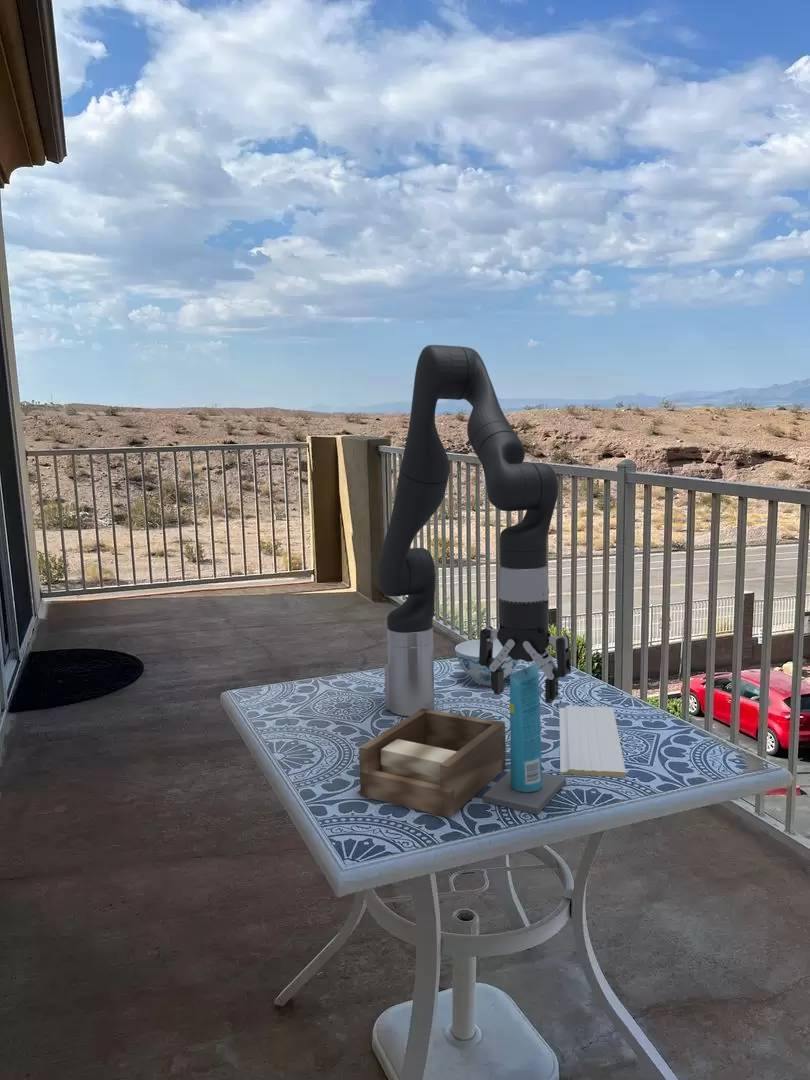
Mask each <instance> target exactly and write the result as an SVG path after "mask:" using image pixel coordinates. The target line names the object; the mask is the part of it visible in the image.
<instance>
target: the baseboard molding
mask: <svg viewBox="0 0 810 1080" xmlns="http://www.w3.org/2000/svg"><path fill="white" fill-rule="evenodd" d="M559 703H560V704H562V700H560V701H559ZM573 703H575V704H578V703H582V704H583V703H591V700H590V699H584V700H583V699H579V702H574V701H573ZM597 704H601V705H603V704H604V705H606V704H607V703H606V702H604V703H600V702H597ZM613 705H614V703H613V702H611V706H613ZM553 707H556V708H558V712H559V713H558V715H559V720H558V721H559V775H567V774H573V776H589V775H591V776H589V777H609V776H610V778H611V777H612V778H626V775H627V770H626V765H625V761H624V756H623V750H622V746H621V741H620V736H619V730H618V726H617V720H616V716H615V711H614V707H608V706H607V707H606V706H586V705H585V706H580V705H576V706H575V705H574V706H573V705H566V706H565V707H560V708H559V704H558V703H557V704H556V705H555V704H553Z"/></svg>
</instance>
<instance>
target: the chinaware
mask: <svg viewBox="0 0 810 1080" xmlns="http://www.w3.org/2000/svg"><path fill="white" fill-rule="evenodd" d="M502 648H503V646H502V645H501V643H500V642H499V640H498V638H496V640H495V641H494V642H493V658H494V659H495V658H496V656H497V655H498V653H499V652H500V651H501V650H502ZM454 649H455V655H456V658H457V661H458V663H459V665H460V667H461V668H462V669H463V671H465V673H466V674H467V675H468V676H470V677H471V678H473V681H474V683H476V684H477V683H478V685H481V684H482V686H491V671H490V669H489V668H488V667H486V666H481V665H480V664H479V649H480V638H479V639H472V640H467V641H463V642H461V643H459V644H456V646H455V648H454ZM519 662H520V660H512V658H511V657H510V658H509V659H508V660H507V661H506V662H505V663H504V665H503V666H502V669H504V679H505V678H507V677H508V676H510V675H511V674H513V673H514V671H515V669H516V668H517V666H518V665H519Z"/></svg>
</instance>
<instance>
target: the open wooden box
mask: <svg viewBox="0 0 810 1080" xmlns="http://www.w3.org/2000/svg"><path fill="white" fill-rule="evenodd" d="M396 739H400V740H405V741H409V742H414V743H419V744H424V745H428V746H433V747H438V748H443V749H448V750H452V751H457V752H456V753H455V754H453V755H452V756H451V757H449V758H448V759H447V760H446V761H444V762H443V763H442V764H440V785H436V784H432V783H428V782H423V781H419V780H415V779H410V778H406V777H402V776H397V775H393V774H388V773H384V772H382V765H381V749H382V748H384V747H385V746H387V745H389V744H390V743H392V742H393V741H395V740H396ZM358 761H359V766H358V767H359V784H360V785H359V789H360V790H359V791H360V796H361V797H365V798H369V799H373V800H376V801H381V802H384V803H389V804H393V805H396V806H401V807H403V808H407V809H408V808H409V809H412V810H415V811H416V810H417V811H420V812H424V813H428V814H431V815H436V816H440V817H444V818H449V819H450V818H452V817H453V816H454V815H455V814H456V813H458V811H460V810H461V809H462V808H464V806H465V805H466V804H468V802H469V800H470V799H471V800H472V799H473V798H474V797H475V796H477V794H479V793H480V792H481V791H482V790H483V789H485V788H486V786H488V785H489V784H490V783H491V782H492V781H493V780H494V779H496V778H497V777H498V776H499V775H500V774H502V773H503V771H505V768H506V767H507V766H506V765H507V763H506V722H501V721H497V720H491V719H490V720H489V719H484V718H481V717H474V716H473V717H472V716H467V715H463V714H456V713H451V712H445V711H439V710H436V709H434V710H429V709H423V708H422V709H420V710H419V711H417V712H416V713H414V714H412V715H411V716H406V717H405V718H403V720H401V721H399V722H398V723H395V724H394V725H392V726H391V727H390V728H388V729H387V730H385V731H383V732H382V733H379V734H378V735H377V736H375V737H373V738H371V739H370V740H368V741H367V742H366V743H364V744H362V745H360V746H359V747H358ZM498 774H499V775H498ZM497 775H498V776H497ZM496 776H497V777H496ZM487 784H488V785H487ZM482 788H483V789H482ZM480 790H481V791H480ZM479 791H480V792H479ZM478 792H479V793H478ZM473 796H474V797H473ZM471 800H470V801H471ZM460 808H461V809H460Z"/></svg>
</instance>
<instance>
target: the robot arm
mask: <svg viewBox="0 0 810 1080" xmlns="http://www.w3.org/2000/svg"><path fill="white" fill-rule="evenodd" d="M438 400H453V401H455V400H457V401H460V400H464V401H467V402H468V403H469V404H470V405H471V406H472V410H471V413H470V415H469V418H468V421H467V426H466V427H467V430H466V432H467V438H468V442H469V444H470V446H471V448H472V450H473V451H474V453H475V455H476V457H477V458H478V460H479V461H480V463H481V465H482V469H483V474H484V478H485V485H486V494H487V498H488V501H489V502H490V504H491V505H493V507H494V508H496V509H498V510H499V511H502V512H517V511H518V512H520V511H525V514H524V516H523V518H522V520H521V521H520V522H519V523H517V524H514V525H511V526H508V527H505V528H504V529H503V530H502V531H501V532H500V534H499V572H498V573H499V574H498V624H499V629H495V628H494V627H493V626H492V625H488V626H486V627H485V628H483V629H480V631H479V639H480V649H479V664H480V665H481V666H486V667H488V668H489V669H490V671H491V685H490V688H491V690H492V691H493V693H494V695H501V694H502V693H504V689H505V678H504V669H502V666H503V665H504V663H505V662H506V661H507V660H508V659H509V658H510V657H511V658H512V660H519V661H521V660H522V661H524V662H528V663H532V662H534V664H535V663H536V665H537V666H538V669H541V670H542V672H543V674H544V675H545V677H546V679H545V680H544V684H545V689H544V691H545V694H544V697H545V699H544V700H545V703H548V704H552V703H554V701H555V699H557V698H558V696H559V679H560V678H565V677H566V676H567V675H569V674H570V673H571V671H572V664H571V663H572V662H571V660H572V659H571V646H570V644H571V643H570V636H569V635H567V634H563V635H561V636H560V635H551V633H550V631H549V617H550V616H549V609H550V608H549V595H550V587H549V575H548V567H547V564H548V563H547V561H548V560H547V559H548V557H547V555H548V554H547V552H548V551H547V546H548V545H547V541H548V536H549V535H548V534H549V530H550V527H551V523H552V518H553V514H554V511H555V508H556V504H557V499H558V495H559V480H558V477H557V474H556V472H555V471H554V468H553V467H551V466H550V465H549V464H547V463H544V462H526V463H524V460H525V458H526V451H525V450H526V449H525V446H524V444H523V443H522V441H521V439H520V437H519V436H518V434H517V433H516V431H515V430H514V428H513V426H512V425H511V424H510V422H509V421H508V419H507V417H506V416H505V413H504V412H503V410H502V408H501V405H500V402H499V400H498V397H497V394H496V391H495V389H494V385H493V383H492V381H491V378H490V375H489V373H488V370H487V367H486V365H485V362H484V360H483V359H482V357H481V356H480V354H479V352H478V351H476V350H475V349H474V348H472V347H467V346H459V345H458V346H456V345H455V346H454V345H444V344H443V345H441V344H429V345H426V346H425V347H424V348H422V350H421V351H420V354H419V355H418V359H417V363H416V367H415V375H414V382H413V391H412V399H411V410H410V417H409V422H408V423H409V424H408V429H407V435H406V439H405V441H406V442H405V445H404V451H403V455H402V460H401V464H400V466H399V473H398V478H397V483H396V490H395V497H394V499H393V500H394V501H393V505H392V511H391V515H390V519H389V524H388V528H387V531H386V533H385V537H384V540H383V543H382V547H381V549H380V553H379V557H378V562H377V566H376V581H377V585H378V589H379V590H380V592H381V593H382V594H383V595H384V596H387V597H391V598H392V597H395V598H396V597H402V596H407V598H406V600H405V601H404V602H403V603H402V604H401V605H400V606H399V607H396V608H395V609H393V610H391V611H390V612H389V613H388V615H387V617H386V628H387V631H386V633H387V655H388V656H387V658H388V662H387V663H385V664H384V694H385V695H384V698H385V701H384V702H385V710H387V711H389V712H391V713H393V714H395V715H399V716H401V717H402V716H405V717H409V716H411V715H412V714H414V713H416V712H417V711H419V710H420V709H422V708H423V709H429V710H436V709H435V701H436V700H435V698H436V697H435V672H434V671H435V669H434V629H433V627H434V623H433V622H434V621H433V620H434V616H435V611H436V582H437V581H436V579H437V578H436V564H435V561H434V560H435V559H434V557H433V555H432V553H431V552H430V550H428V549H426V548H423V547H413V548H411V545H412V543H413V541H414V539H415V537H416V536H417V534H418V533H419V532H420V531H421V530H422V528H423V527H424V526H425V525H426V524H427V523H428V522H429V520H430V519H431V518H432V516H433V515H435V513H436V512H437V511H438V510H439V507H440V506H441V505H442V503H443V501H444V498H445V494H446V491H447V486H448V482H449V478H450V473H451V472H450V471H451V465H450V460H449V457H448V454H447V451H446V449H445V447H444V444H443V442H442V440H441V438H440V435H439V433H438V430H437V429H438V428H437V426H436V408H437V404H438ZM496 639H498V640H499V642H500V643H501V645H502V646H503V648H502V650H501V651H500V652H499V653H498V655H497V656H496V658H495V659H494V658H493V642H494V641H495V640H496ZM550 645H552V649H553V650H554V651H555V653H556V664H557V665H556V664H555V662H554V658H553V656H552V655H551V652H549V650H548V649H547V648H548V647H549V646H550Z"/></svg>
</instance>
